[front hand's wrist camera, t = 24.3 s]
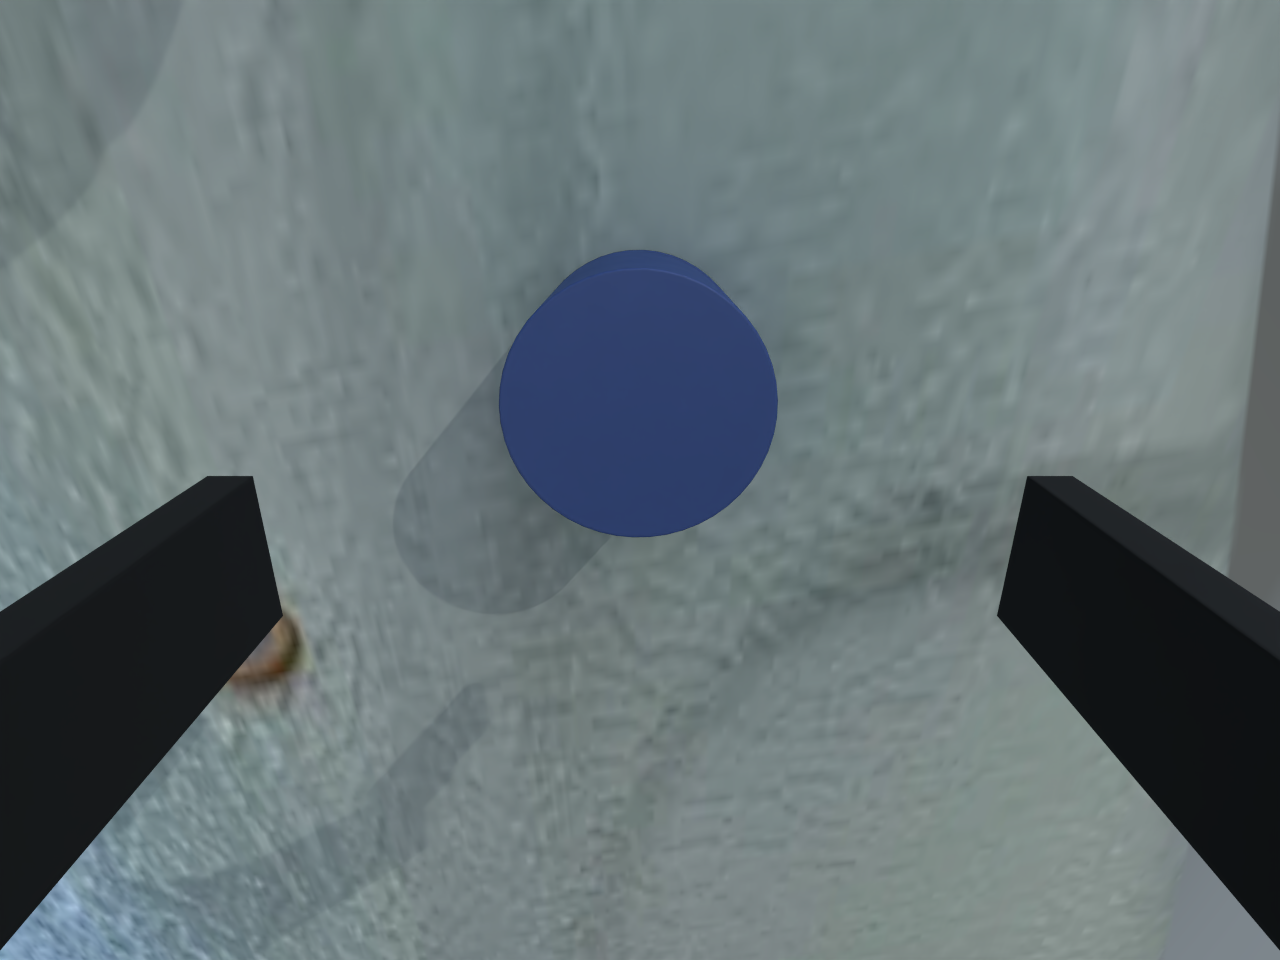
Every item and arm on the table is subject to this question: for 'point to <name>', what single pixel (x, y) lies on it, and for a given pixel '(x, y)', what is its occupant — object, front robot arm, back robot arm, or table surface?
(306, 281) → the table surface
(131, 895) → the table surface
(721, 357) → the cylinder
